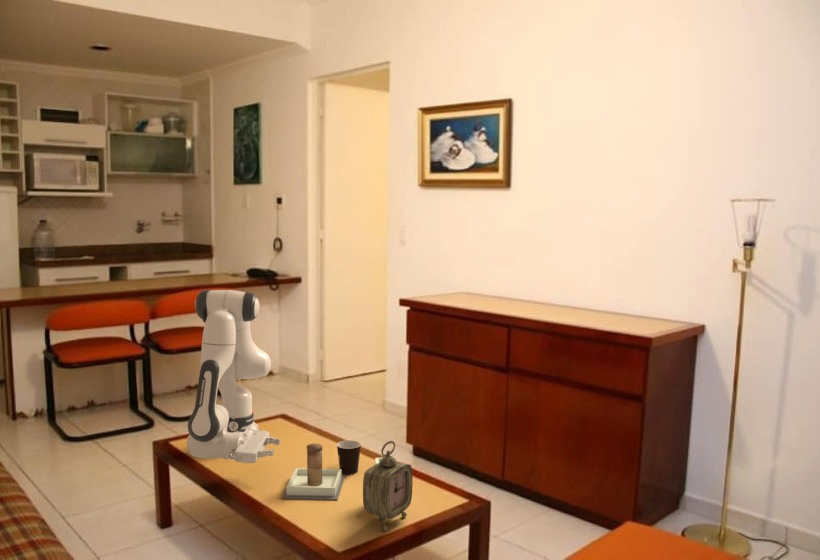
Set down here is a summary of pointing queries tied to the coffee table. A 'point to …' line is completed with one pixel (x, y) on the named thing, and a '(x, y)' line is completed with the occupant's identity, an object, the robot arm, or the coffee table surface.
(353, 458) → the coffee mug
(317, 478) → the canister
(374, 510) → the tabletop clock
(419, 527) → the coffee table surface
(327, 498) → the mat
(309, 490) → the dish
